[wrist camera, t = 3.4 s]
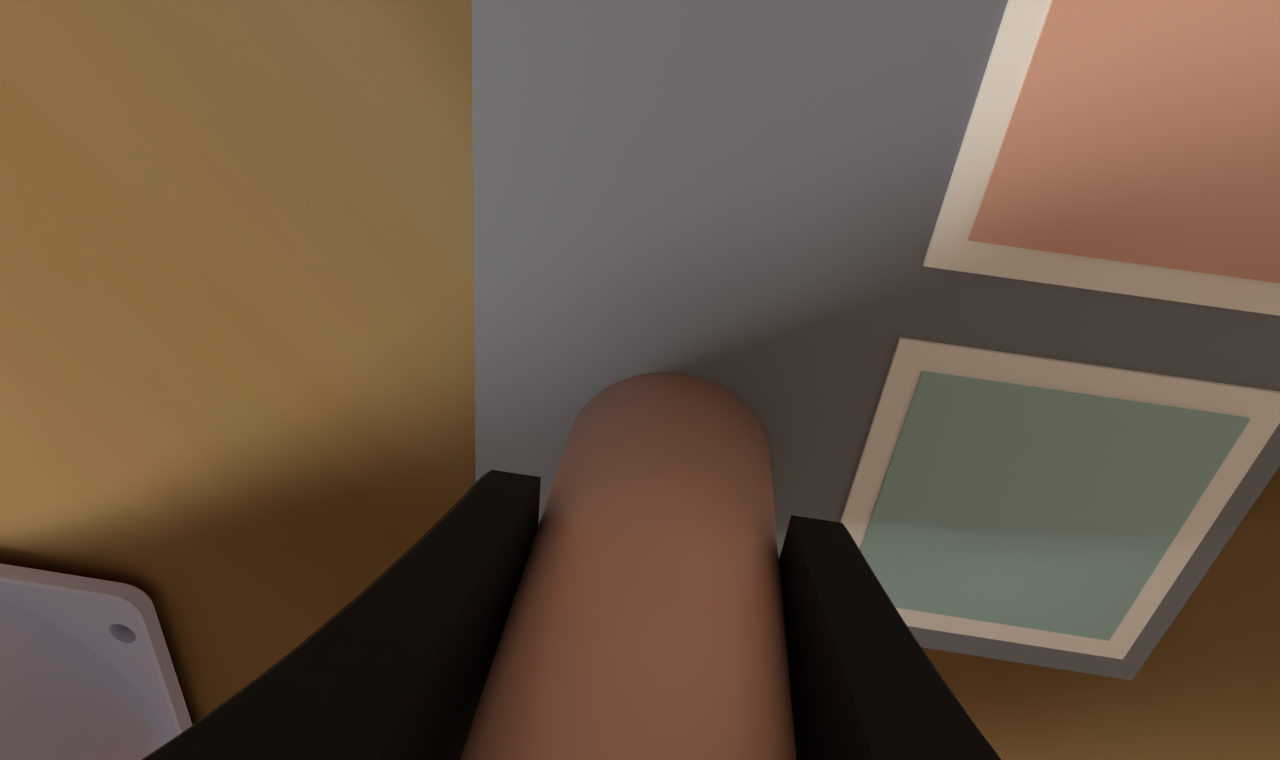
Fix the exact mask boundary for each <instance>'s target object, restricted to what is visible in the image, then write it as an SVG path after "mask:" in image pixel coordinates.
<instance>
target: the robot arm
mask: <svg viewBox="0 0 1280 760" xmlns="http://www.w3.org/2000/svg"><path fill="white" fill-rule="evenodd" d="M540 483H541V477H537V476H530V475H523V474H517V473H510V472H504V471H497V470H490V471H489V472H487V473H486V474H484V475H483V476H482V477H481V478H480V479H479V480H478V481H477V482H476V483H475V484H474V485H473V486H472V487H471V488H470V489H469V490H468V491H467V492H466V493H465V494H464V496H463V497H462V498H461V499H460V500H459V501H458V502H457V503H456V504H455V505H454V506H453V507H452V508H451V509H450V510H449V511H448V512H447V513H446V514H445V515H444V516H443V517H442V518H441V519H440V520H439V521H438V522H437V523H436V524H435V525H434V526H433V527H432V528H431V529H430V530H429V531H428V532H427V533H426V534H425V535H424V536H423V537H422V538H421V539H420V540H419V541H417V542H416V543H415V544H414V545H413V546H412V547H411V548H410V549H409V550H408V551H407V552H406V553H405V554H403V555H402V556H401V557H400V558H399V559H398V560H397V561H396V562H395V563H394V564H393V565H392V566H390V567H389V568H388V569H387V570H386V571H385V572H384V573H383V574H382V575H381V576H380V577H379V578H377V579H376V580H375V581H374V582H373V583H372V584H371V585H370V586H369V587H368V588H366V589H365V590H364V591H363V592H362V593H361V594H360V595H358V596H357V597H356V598H355V599H354V600H353V601H351V602H350V603H349V604H348V605H347V606H345V607H344V608H343V609H342V610H341V611H339V612H338V613H337V614H336V615H335V616H333V617H332V618H331V619H330V620H329V621H327V622H326V623H325V624H324V625H323V626H321V627H320V628H319V629H318V630H317V631H316V632H314V633H313V634H312V635H311V636H310V637H308V638H307V639H306V640H305V641H304V642H302V643H301V644H300V645H299V646H298V647H296V648H295V649H294V650H293V651H291V652H290V653H289V654H288V655H286V656H285V657H284V658H282V659H281V660H280V661H279V662H277V663H276V664H275V665H273V666H272V667H271V668H270V669H268V670H267V671H266V672H264V673H263V674H262V675H260V676H259V677H258V678H256V679H255V680H254V681H252V682H251V683H250V684H249V685H247V686H246V687H245V688H243V689H242V690H241V691H239V692H238V693H236V694H235V695H234V696H232V697H231V698H230V699H228V700H227V701H225V702H224V703H223V704H221V705H220V706H218V707H217V708H216V709H214V710H213V711H212V712H210V713H209V714H207V715H206V716H205V717H203V718H202V719H200V720H199V721H198V722H196V723H195V724H193V725H192V722H191V719H190V716H189V713H188V710H187V707H186V704H185V700H184V697H183V694H182V691H181V688H180V685H179V682H178V679H177V676H176V673H175V670H174V667H173V664H172V660H171V657H170V654H169V651H168V648H167V645H166V642H165V639H164V636H163V633H162V630H161V627H160V623H159V620H158V617H157V614H156V611H155V608H154V605H153V603H152V601H151V599H150V597H149V596H148V595H147V594H146V593H145V592H143V591H142V590H140V589H139V588H137V587H135V586H133V585H129V584H126V583H120V582H114V581H108V580H101V579H95V578H89V577H83V576H76V575H70V574H64V573H58V572H51V571H45V570H39V569H33V568H26V567H20V566H14V565H8V564H1V563H0V760H460V757H461V754H462V751H463V748H464V745H465V743H466V740H467V737H468V734H469V731H470V728H471V725H472V722H473V719H474V716H475V713H476V710H477V707H478V704H479V701H480V698H481V695H482V692H483V689H484V686H485V683H486V680H487V677H488V674H489V671H490V668H491V665H492V662H493V659H494V656H495V653H496V650H497V647H498V644H499V641H500V638H501V635H502V632H503V629H504V626H505V623H506V620H507V617H508V614H509V611H510V608H511V605H512V602H513V599H514V596H515V593H516V590H517V587H518V585H519V582H520V579H521V576H522V573H523V570H524V567H525V564H526V561H527V558H528V555H529V552H530V549H531V546H532V543H533V540H534V537H535V534H536V531H537V528H538V523H539V503H540ZM779 565H780V576H781V588H782V599H783V611H784V622H785V633H786V645H787V656H788V667H789V679H790V690H791V701H792V713H793V724H794V736H795V747H796V758H797V760H1001V759H1000V757H999V756H998V755H997V753H996V752H995V751H994V749H993V748H992V747H991V745H990V744H989V743H988V741H987V740H986V739H985V737H984V736H983V735H982V733H981V732H980V731H979V729H978V728H977V727H976V725H975V724H974V723H973V721H972V720H971V718H970V717H969V716H968V714H967V713H966V711H965V710H964V709H963V707H962V706H961V704H960V703H959V702H958V700H957V699H956V697H955V696H954V695H953V693H952V692H951V690H950V689H949V687H948V686H947V684H946V683H945V682H944V680H943V679H942V677H941V676H940V674H939V673H938V671H937V670H936V668H935V667H934V665H933V664H932V662H931V661H930V659H929V658H928V657H927V655H926V654H925V652H924V651H923V649H922V648H921V646H920V645H919V643H918V642H917V640H916V639H915V637H914V636H913V634H912V633H911V631H910V630H909V628H908V626H907V625H906V623H905V622H904V620H903V619H902V617H901V616H900V614H899V612H898V611H897V609H896V608H895V606H894V605H893V603H892V601H891V600H890V598H889V597H888V595H887V593H886V592H885V590H884V589H883V587H882V585H881V584H880V582H879V580H878V579H877V577H876V576H875V574H874V572H873V571H872V569H871V567H870V566H869V564H868V562H867V561H866V559H865V558H864V556H863V554H862V553H861V551H860V549H859V548H858V546H857V544H856V543H855V541H854V539H853V538H852V536H851V534H850V533H849V531H848V530H847V529H846V527H845V526H844V524H843V523H840V522H834V521H827V520H820V519H814V518H807V517H801V516H794V515H791V518H790V521H789V525H788V529H787V532H786V536H785V539H784V543H783V547H782V550H781V554H780V557H779Z"/></svg>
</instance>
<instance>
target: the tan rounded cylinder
mask: <svg viewBox="0 0 1280 760" xmlns="http://www.w3.org/2000/svg"><path fill="white" fill-rule="evenodd" d="M460 760H797V758H796V747H795V736H794V724H793V713H792V701H791V690H790V679H789V667H788V656H787V645H786V633H785V622H784V611H783V599H782V588H781V576H780V565H779V554H778V542H777V531H776V520H775V508H774V497H773V485H772V474H771V463H770V453H769V447H768V443H767V440H766V437H765V434H764V432H763V430H762V428H761V426H760V424H759V422H758V421H757V419H756V418H755V416H754V415H753V414H752V412H751V411H750V410H749V409H748V408H747V407H746V406H745V405H744V404H743V403H742V402H741V401H740V400H738V399H737V398H736V397H735V396H733V395H732V394H730V393H729V392H727V391H726V390H724V389H722V388H721V387H718V386H716V385H714V384H712V383H710V382H707V381H704V380H701V379H698V378H695V377H691V376H686V375H681V374H670V373H656V374H646V375H639V376H635V377H631V378H628V379H624V380H622V381H619V382H617V383H615V384H612V385H611V386H609V387H607V388H605V389H604V390H602V391H600V392H599V393H598V394H597V395H595V396H594V397H593V398H591V399H590V401H589V402H588V403H587V404H586V405H585V406H584V407H583V408H582V409H581V411H580V412H579V414H578V415H577V416H576V418H575V420H574V422H573V424H572V427H571V429H570V432H569V435H568V438H567V441H566V444H565V447H564V450H563V453H562V456H561V459H560V462H559V465H558V468H557V471H556V474H555V477H554V480H553V483H552V486H551V489H550V492H549V495H548V498H547V501H546V504H545V507H544V510H543V513H542V516H541V519H540V522H539V525H538V528H537V531H536V534H535V537H534V540H533V543H532V546H531V549H530V552H529V555H528V558H527V561H526V564H525V567H524V570H523V573H522V576H521V579H520V582H519V585H518V587H517V590H516V593H515V596H514V599H513V602H512V605H511V608H510V611H509V614H508V617H507V620H506V623H505V626H504V629H503V632H502V635H501V638H500V641H499V644H498V647H497V650H496V653H495V656H494V659H493V662H492V665H491V668H490V671H489V674H488V677H487V680H486V683H485V686H484V689H483V692H482V695H481V698H480V701H479V704H478V707H477V710H476V713H475V716H474V719H473V722H472V725H471V728H470V731H469V734H468V737H467V740H466V743H465V745H464V748H463V751H462V754H461V757H460Z"/></svg>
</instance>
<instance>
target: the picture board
mask: <svg viewBox="0 0 1280 760" xmlns="http://www.w3.org/2000/svg"><path fill="white" fill-rule="evenodd" d="M472 103H473V237H474V370H475V483H476V482H477V481H478V480H479V479H480V478H481V477H482V476H483V475H484V474H486V473H487V472H489V471H490V470H497V471H504V472H510V473H517V474H523V475H530V476H537V477H541V483H540V503H539V522H540V519H541V516H542V513H543V510H544V507H545V504H546V501H547V498H548V495H549V492H550V489H551V486H552V483H553V480H554V477H555V474H556V471H557V468H558V465H559V462H560V459H561V456H562V453H563V450H564V447H565V444H566V441H567V438H568V435H569V432H570V429H571V427H572V424H573V422H574V420H575V418H576V416H577V415H578V414H579V412H580V411H581V409H582V408H583V407H584V406H585V405H586V404H587V403H588V402H589V401H590V399H591V398H593V397H594V396H595V395H597V394H598V393H599V392H600V391H602V390H604V389H605V388H607V387H609V386H611V385H612V384H615V383H617V382H619V381H622V380H624V379H628V378H631V377H635V376H639V375H646V374H656V373H670V374H681V375H686V376H691V377H695V378H698V379H701V380H704V381H707V382H710V383H712V384H714V385H716V386H718V387H721V388H722V389H724V390H726V391H727V392H729V393H730V394H732V395H733V396H735V397H736V398H737V399H738V400H740V401H741V402H742V403H743V404H744V405H745V406H746V407H747V408H748V409H749V410H750V411H751V412H752V414H753V415H754V416H755V418H756V419H757V421H758V422H759V424H760V426H761V428H762V430H763V432H764V434H765V437H766V440H767V443H768V447H769V453H770V463H771V474H772V485H773V497H774V508H775V520H776V531H777V542H778V554H779V557H780V554H781V550H782V547H783V543H784V539H785V536H786V532H787V529H788V525H789V521H790V518H791V515H794V516H801V517H807V518H814V519H820V520H827V521H834V522H840V523H843V524H844V526H845V527H846V529H847V530H848V531H849V533H850V534H851V536H852V538H853V539H854V541H855V543H856V544H857V546H858V548H859V549H860V551H861V553H862V554H863V556H864V558H865V559H866V561H867V562H868V564H869V566H870V567H871V569H872V571H873V572H874V574H875V576H876V577H877V579H878V580H879V582H880V584H881V585H882V587H883V589H884V590H885V592H886V593H887V595H888V597H889V598H890V600H891V601H892V603H893V605H894V606H895V608H896V609H897V611H898V612H899V614H900V616H901V617H902V619H903V620H904V622H905V623H906V625H907V626H908V628H909V630H910V631H911V633H912V634H913V636H914V637H915V639H916V640H917V642H918V643H919V645H920V646H921V648H928V649H934V650H940V651H947V652H953V653H959V654H966V655H972V656H978V657H985V658H991V659H998V660H1004V661H1010V662H1017V663H1023V664H1029V665H1036V666H1042V667H1049V668H1055V669H1061V670H1068V671H1074V672H1080V673H1087V674H1093V675H1099V676H1106V677H1112V678H1119V679H1125V680H1131V681H1132V680H1133V679H1134V677H1135V676H1136V674H1137V673H1138V672H1139V670H1140V669H1141V667H1142V666H1143V664H1144V663H1145V661H1146V660H1147V658H1148V657H1149V656H1150V654H1151V653H1152V651H1153V650H1154V648H1155V647H1156V645H1157V644H1158V643H1159V641H1160V640H1161V638H1162V637H1163V635H1164V634H1165V632H1166V631H1167V629H1168V628H1169V627H1170V625H1171V624H1172V622H1173V621H1174V619H1175V618H1176V616H1177V615H1178V613H1179V612H1180V611H1181V609H1182V608H1183V606H1184V605H1185V603H1186V602H1187V600H1188V599H1189V597H1190V596H1191V595H1192V593H1193V592H1194V590H1195V589H1196V587H1197V586H1198V584H1199V583H1200V581H1201V580H1202V579H1203V577H1204V576H1205V574H1206V573H1207V571H1208V570H1209V568H1210V567H1211V565H1212V564H1213V563H1214V561H1215V560H1216V558H1217V557H1218V555H1219V554H1220V552H1221V551H1222V550H1223V548H1224V547H1225V545H1226V544H1227V542H1228V541H1229V539H1230V538H1231V536H1232V535H1233V534H1234V532H1235V531H1236V529H1237V528H1238V526H1239V525H1240V523H1241V522H1242V520H1243V519H1244V518H1245V516H1246V515H1247V513H1248V512H1249V510H1250V509H1251V507H1252V506H1253V504H1254V503H1255V502H1256V500H1257V499H1258V497H1259V496H1260V494H1261V493H1262V491H1263V490H1264V488H1265V487H1266V486H1267V484H1268V483H1269V481H1270V480H1271V478H1272V477H1273V475H1274V474H1275V472H1276V471H1277V470H1278V468H1279V467H1280V0H472ZM538 525H539V523H538Z"/></svg>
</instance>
